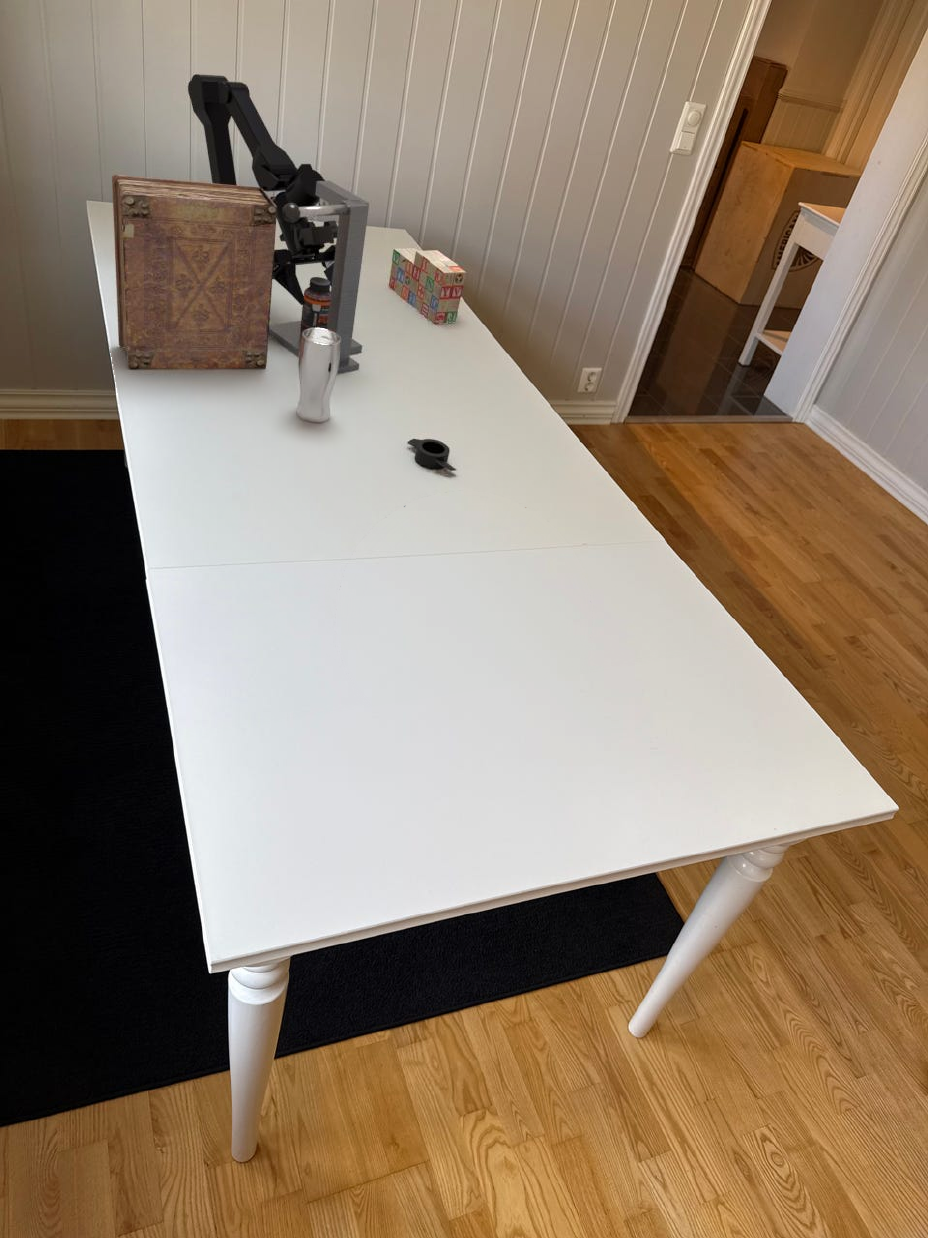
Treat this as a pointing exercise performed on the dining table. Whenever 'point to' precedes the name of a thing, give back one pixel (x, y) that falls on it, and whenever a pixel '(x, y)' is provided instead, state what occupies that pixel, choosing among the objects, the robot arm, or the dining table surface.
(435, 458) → the black winged ring
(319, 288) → the supplement bottle
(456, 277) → the stack of blocks
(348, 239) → the arbor press
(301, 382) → the beer glass
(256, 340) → the book
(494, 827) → the dining table surface
